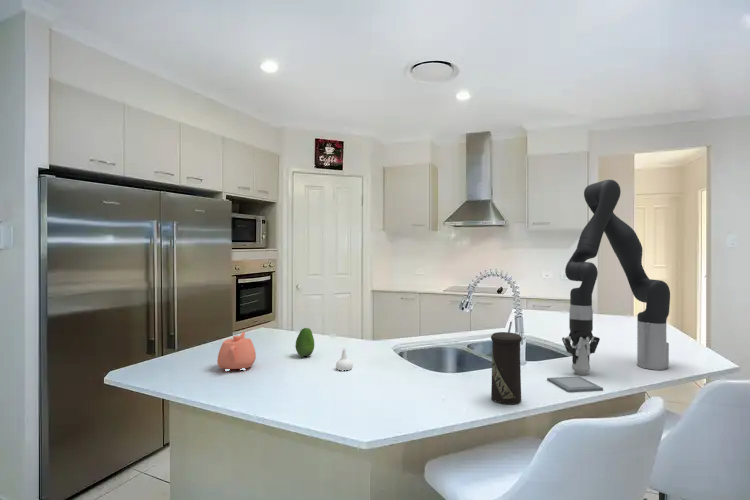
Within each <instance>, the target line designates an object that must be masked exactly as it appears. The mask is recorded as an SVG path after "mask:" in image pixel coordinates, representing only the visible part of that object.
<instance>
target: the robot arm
mask: <svg viewBox="0 0 750 500" xmlns="http://www.w3.org/2000/svg"><path fill="white" fill-rule="evenodd" d="M583 197H584V201H585V203H586V204H587V206H588V208H589V210H591V212H592V214H593V215H592V217H591V218H590V220H589V221H588V222H587V223H586V225H585V226H584V228H583V229H582V231H581V233H580V236H579V239H578V242H577V246H576V249H575V250H574V252H573V253H572V255H571V257H570V258H569V259H568V262H567V263H566V266H565V268H564V271H565V272H564V273H565V277H566V278H567V279H568V280H569V281H573V282H581V283H580V286H579V287H574V288H572V289H571V290H570V294H569V295H570V297H569V299H570V300H569V304H570V305H569V312H568V313H569V319H568V320H569V325H568V326H569V328H568V329H569V333H568V336H566V337H562V338H561V341H562V342H563V345H564V348H565V351H566V352H567V353H569V354H571V355H572V357H571V359H572V363H574V364H576V359H577V361H578V355H579V350H580V349H581V342H582V340H583V338H584V339H586V341H587V345H585V346H586V350H587V355H588V359H589V360H590V355H591V354H595V353H596V350H597V349H598V346H599V343H600V340H601V339H600V337H598V336H594V335H593V328H594V327H593V326H594V325H593V324H594V321H593V320H594V319H593V318H594V317H593V316H594V311H593V292H594V289H595V285H596V282H597V279H598V274H599V273H598V268H597V266H596V264H595V263H593V262H590V261H587V260H590V259H594V258H596V257H597V256H598V253H599V249H600V247H601V241H602V238H603V235H604V234H605V236H606V237H607V241H608V242H609V244H610V247H611V248H612V250H613V252H614V254H615V256H616V257H617V259H618V262H619V264H620V266H621V268H622V270H623V272H624V274H625V277H626V279H627V282H628V285H629V288H630V291H631V292H632V295H633V296H634V299H636V301H639V302H641V303H645V309H644V310H643V311H640V312H638V313H637V320H636V321H637V322H636V323H637V325H636V326H637V327H636V328H637V329H636V330H637V333H636V334H637V338H636V340H637V342H636V346H637V347H636V350H637V351H636V352H637V353H636V354H637V355H636V356H637V357H636V362H637V363H636V365H637V366H638V367H640V368H643V369H647V370H652V371H653V370H656V371H663V370H667V369H669V368H670V367H669V366H670V365H669V363H670V360H669V359H670V358H669V357H670V352H669V351H670V348H669V347H670V346H669V345H670V343H669V342H667V320H668V317H669V315H670V303H671V291H670V290H671V289H670V287H669V284H668V283H666V282H665V281H664V280H660V279H651V278H649V276H648V274H647V273H646V271H645V269H644V267H643V264H642V261H643V246H642V243H641V241H640V239H639V237H638V235H637V233H636V231H635V230H634V229H633V228H632V227H631V226H630V225H629V224H628V223H626V222H625V221H624V220H622V219H620V217H618V216H617V215H616V214H615V213H614V211H615V208H616V206H617V205H618V202H619V200H620V197H621V186H620V184H619V183H618V182H617V181H616V180H614V179H605V180H604V179H603V180H601V181H598V182H595V183H591V184H589V185H587V186H586V187H585V188H584V191H583ZM579 343H580V344H579ZM576 345H577V346H576Z"/></svg>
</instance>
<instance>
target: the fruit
mask: <svg viewBox="0 0 750 500" xmlns="http://www.w3.org/2000/svg"><path fill="white" fill-rule="evenodd" d="M294 347H295V350H296V352H297V354H298V355H299V356H300V357H301V356H308V357H310V356H312V353H313V352H314V349H315V339H314V335H313V332H312V330H311V329H310V328H309V327H304V328H302V329H300V332H299V333H298V335H297V337H296V340H295V346H294ZM309 355H310V356H309Z"/></svg>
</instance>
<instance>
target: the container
mask: <svg viewBox="0 0 750 500" xmlns="http://www.w3.org/2000/svg"><path fill="white" fill-rule="evenodd" d="M490 339H491V341H492V343H491V344H492V349H491V352H492V353H491V354H492V355H491V393H490V394H491V397H490V398H491V400H492V401H494V402H496V403H499V404H502V405H503V404H504V405H518V404H520V403H521V402H522V382H521V381H522V376H521V375H522V374H521V372H522V371H521V369H522V368H521V341H523V337H522V336H521V335H520V334H518V333H515V332H509V331H506V332H505V331H499V332H494V333H493V334H491V335H490Z"/></svg>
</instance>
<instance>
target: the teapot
mask: <svg viewBox="0 0 750 500" xmlns="http://www.w3.org/2000/svg"><path fill="white" fill-rule="evenodd" d="M245 334H246V332H245V331H243V332H241V333H240V335H234V336H232V338H228V339H225V340H224V341H223V342H222V343H221V346H220V348H219V351H218V354H217V360H216V361H217V366H218V367H219V368H220V369H223V370H225V369H231V370H237V369H238V370H240V369H242V368H246V369H247V368H248V369H249V368H251V367H252V366H253V365H254V363H255V361H256V358H257V356H256V355H257V354H256V348H255V346H254V343H253V341H252V339H251V338H246V335H245Z"/></svg>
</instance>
